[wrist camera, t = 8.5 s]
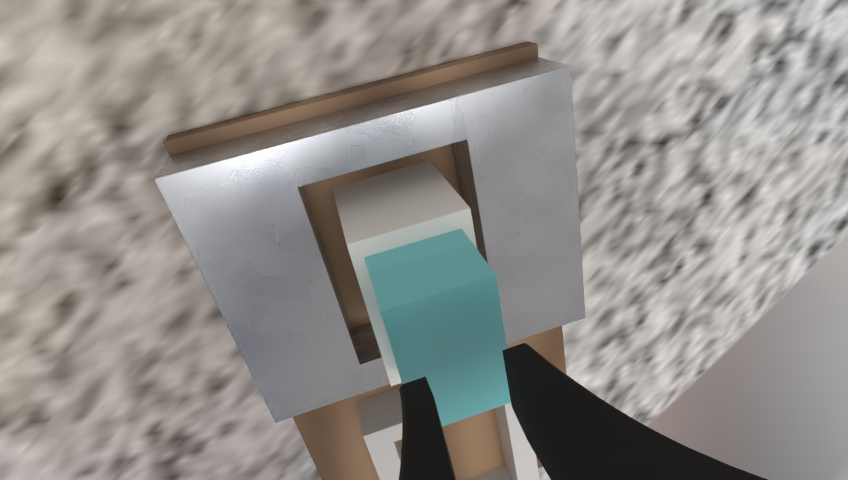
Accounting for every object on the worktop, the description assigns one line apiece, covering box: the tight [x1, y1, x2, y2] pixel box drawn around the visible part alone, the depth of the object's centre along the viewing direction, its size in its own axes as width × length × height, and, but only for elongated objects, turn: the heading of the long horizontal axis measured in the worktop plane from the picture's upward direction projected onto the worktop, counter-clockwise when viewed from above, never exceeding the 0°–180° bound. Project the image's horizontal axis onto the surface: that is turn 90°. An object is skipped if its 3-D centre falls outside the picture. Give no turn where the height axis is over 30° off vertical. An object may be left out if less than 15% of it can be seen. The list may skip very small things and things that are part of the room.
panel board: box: [164, 42, 566, 480], centre depth 25 cm, size 14×24×1 cm, turn 11°
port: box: [155, 57, 585, 422], centre depth 20 cm, size 14×11×2 cm
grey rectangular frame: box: [357, 387, 540, 480], centre depth 27 cm, size 8×10×2 cm
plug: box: [332, 161, 511, 427], centre depth 18 cm, size 4×6×8 cm, turn 11°
